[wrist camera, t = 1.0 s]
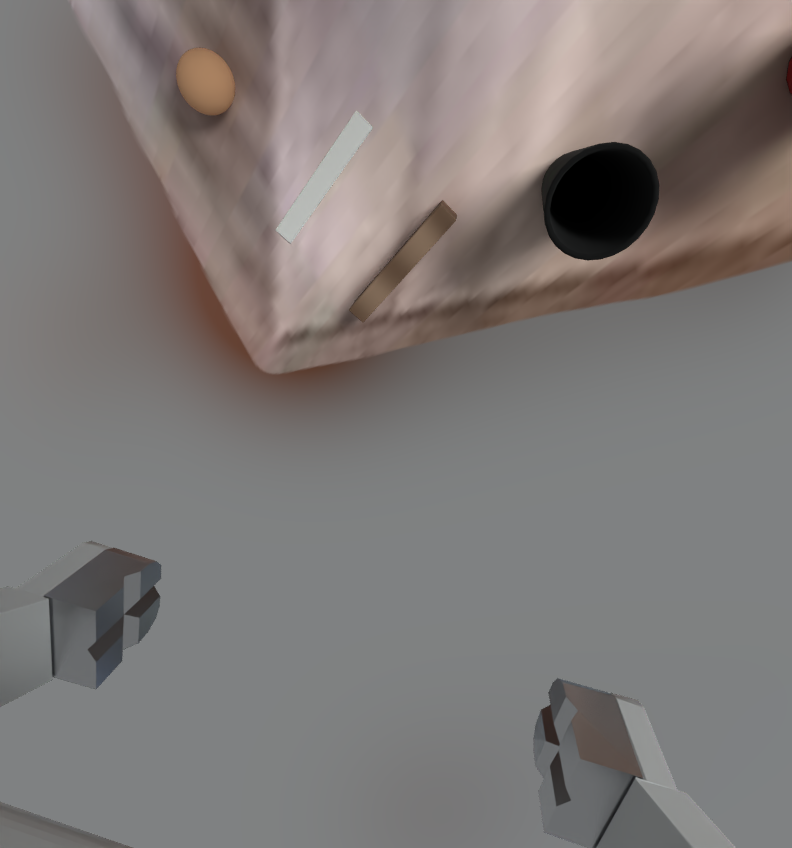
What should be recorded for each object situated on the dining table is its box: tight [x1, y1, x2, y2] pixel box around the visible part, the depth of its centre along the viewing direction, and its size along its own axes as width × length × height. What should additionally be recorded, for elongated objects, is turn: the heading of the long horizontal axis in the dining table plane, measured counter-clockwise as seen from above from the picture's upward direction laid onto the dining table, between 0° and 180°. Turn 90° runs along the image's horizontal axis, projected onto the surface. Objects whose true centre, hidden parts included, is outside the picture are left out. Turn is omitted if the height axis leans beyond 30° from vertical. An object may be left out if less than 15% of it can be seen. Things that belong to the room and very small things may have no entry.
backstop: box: [349, 200, 457, 322], centre depth 48 cm, size 14×2×3 cm, turn 139°
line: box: [276, 110, 373, 243], centre depth 47 cm, size 14×2×1 cm, turn 139°
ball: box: [176, 48, 235, 115], centre depth 41 cm, size 5×5×5 cm
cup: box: [542, 142, 659, 260], centre depth 38 cm, size 8×8×12 cm
